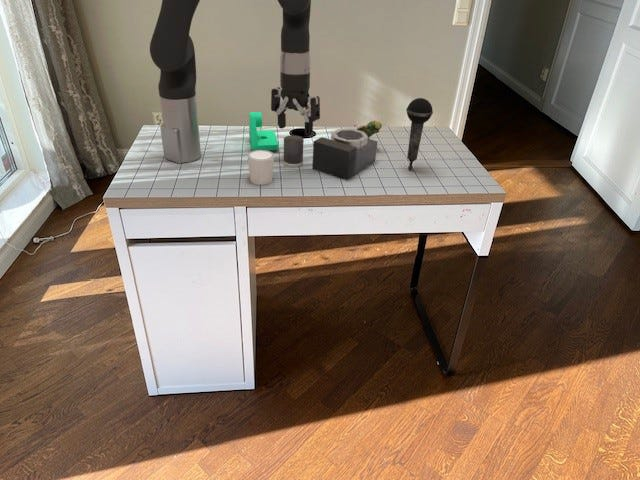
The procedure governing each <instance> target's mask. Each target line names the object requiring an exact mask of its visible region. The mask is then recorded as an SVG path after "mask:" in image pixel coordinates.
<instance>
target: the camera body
mask: <svg viewBox="0 0 640 480" xmlns="http://www.w3.org/2000/svg"><path fill="white" fill-rule="evenodd" d="M378 143H379V142H378V141H377V140H373V139H370V138H369V139H368V136H367V135H366V134H365V132H363V131H359V130H357V129H355V128H339V129H336V130H334V131H332V132H331V136H330V139H329V138H328V137H327V138H326V137H323V136H320V137H319V138H317V139H315V140H313V145H312V146H313V147H312V148H313V149H312V150H313V151H312V170H314V171H318V172H320V173H324V174H325V175H326V174H327V175H329V176H333V177H336V178H339V179H342V180H346V181H348V180H349V179H351V178H352V177H354V176H355V175H357V174H358V173H360V172H361V171H363V170H364V169H366V168H368V167H369V166H370V165H372V164H373V163H375V162H376V159H377V150H378V149H377V148H378Z"/></svg>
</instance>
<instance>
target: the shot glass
mask: <svg viewBox="0 0 640 480" xmlns="http://www.w3.org/2000/svg"><path fill="white" fill-rule="evenodd" d="M246 156H247V164H248V170H249V172H248V173H249V178H250V182H251V183H252V184H255V185H260V186H261V185H263V186H264V185H268V184H270V183H272V182H273V175H274V167H275V166H274V165H275V153H274V152H272V151H271V150H255V151H250V152H248V153H247V155H246Z"/></svg>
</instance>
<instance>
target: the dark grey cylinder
mask: <svg viewBox="0 0 640 480" xmlns="http://www.w3.org/2000/svg"><path fill="white" fill-rule="evenodd" d="M304 142H305V140H304V138H303V137H302V136H300V135H288V136H284V137H283V159H282V163H283V165H284V166H286V167H290V168H298V167H301V166H303V165H304Z"/></svg>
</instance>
